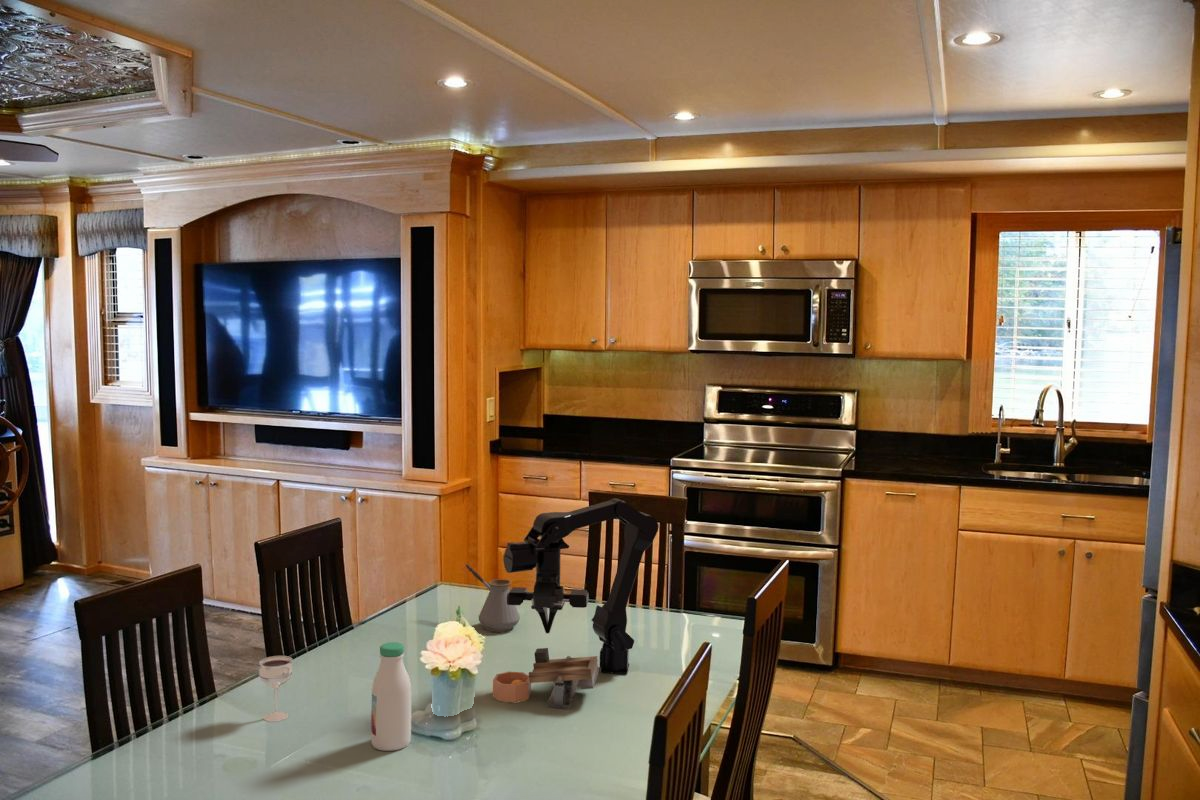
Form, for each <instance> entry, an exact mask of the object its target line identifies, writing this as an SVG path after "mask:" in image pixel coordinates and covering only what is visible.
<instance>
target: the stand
mask: <svg viewBox="0 0 1200 800" xmlns="http://www.w3.org/2000/svg"><path fill="white" fill-rule="evenodd" d="M578 687H579V680H567V681H562V682H561V683H557V681H555V683H554V685H553V689H552V692H551V694H550V696H549V699H548V701H547V703H546V708H548V709H549V708H550V709H564V710H570V708H571V706H572V703H573V701H574V697H575V695H576V692H577V690H578Z"/></svg>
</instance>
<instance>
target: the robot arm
mask: <svg viewBox="0 0 1200 800" xmlns="http://www.w3.org/2000/svg"><path fill="white" fill-rule="evenodd" d="M612 519H617V520H619V521H620V522H621V523H623V524H624V531H623V535H624V536H623V537H624V549H623V552H622V555H621V558H620V560H619V563H618V567H617V570H616V574H615V576H614V578H613V579H614V580H613V582H612V586H611V589H610V591H609V595H608V598H607V600H606V602H605V603H604V604H603V605H602V606H601V605H596V607H595V611H594V615H593V617H592V618H591V620H590V621H591V622H592V630H593V631H594V633H595V634H596V635H597V637H598V639H599V641H600V642H602V645H601V646H602V647H601V648H600V650H599V668H600V673H602V674H614V675H615V674H616V675H617V674H618V675H627V674H628V672H629V669H630V663H629V657H630V656H629V652H630V650H632V649H633V647H634V644H635V639H634V638H633V637H632V636H630V634H628V632H626V631H627V624H628V615H627V606H628V602H629V600H630V599H629V598H630V596H631V594H632V593H631V592H632V590H633V587H634V584H635V580H636V578H637V574H638V570H639V568H640V565H641V562H642V559H643V556H644V552H645V551H646V550H647V549H648V548H649V547H650V546H651V545H652V544H653V543H654V540H655V538H656V536H657V534H658V532H659V527H660V525H659V524H660V523H658V520H657V519H656V518H655V516H653V515H650V514H647V513H645V512H641V511H639V510H638V509H635V508H633V507H632V506H630V505H629V504H628V503H627V502H626V501H625V500H621V499H619V498H611V499H609V500H606V501H602V502H600V503H596V504H592V505H588V506H585V507H582V508H578V509H575V510H572V511H565V512H561V511H560V512H559V511H552V512H550V511H549V512H543V513H542V512H541V513H540V514H538V515H536V517H535V519H534V521H533V524H532V527H531V528H530V530H529V532H528V533H527V534H526V536H525V537H524V538H523V541H519V542H513V541H512V542H507V544H506V548H505V549H504V554H503V566H504V568H505V569H504V570H505V571H506V573H507V574H511V573H520V572H521V573H522V572H527V571H533V570H534V569H535V582H534V586H533V592H531V591H528V588H527V587H521V586H520V587H516V586H513V587H511V588H510V589H509V593H508V594H507V604H508V605H515V606H521V605H522V604H523V603H524V601H531V605H530V608H531V609H532V610H535V611H536V612H537V613H538V615H539V617H540V620H541V623H542V625H543V628H544V632H545V634H550V632H551V629H552V626H553V623H554V620H555V617H556V614H557V613H558V611H563V609H564V606H565V602H566V603H567V602H568V603H569V606H571V607H572V608H579V609H581V608H583V609H584V608H587V606H588V603H589V599H590V598H589V595H590V594H589V591H588V590H587V589H578V588H575V589H574V588H572V589H571V591H570V593H566V592H565V593H564V591H565V590H564V586H563V585H561V550H564V549H565V550H566V549H569V548H570V545H569V544H568V543H566V542H565V540H564V538H566V537H568V536H569V535H571V533H573V532H574V531H576V530H578V529H581V528H582V529H583V528H585V527H588V526H591V525H596V524H598V523H602V522H605V521H609V520H612ZM539 537H540V539H539ZM548 611H549V613H548Z"/></svg>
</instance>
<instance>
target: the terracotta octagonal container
mask: <svg viewBox="0 0 1200 800" xmlns="http://www.w3.org/2000/svg"><path fill="white" fill-rule="evenodd" d="M517 679H518V680H521V681H522V682H523V683H519V684H515V685H514V684H511V683H512V682H513V681H514V680H517ZM531 689H532V683H530V682H529V674H527V673H525V672H522V671H504V672H501V673H497V674H496V675H495V676H494V678H493V679H492V698H494V697H495V698H496V699H495V698H494V699H495V700H497V699H498V700H500V701H505V702H504V703H508V702H517V703H519V702H518V701H521V702H524V701H528V700H529V698H530V696H531V694H532V691H531ZM530 693H531V694H530ZM527 699H528V700H527ZM498 700H497V701H498ZM523 700H524V701H523ZM500 701H499V702H500Z"/></svg>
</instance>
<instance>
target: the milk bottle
mask: <svg viewBox="0 0 1200 800" xmlns="http://www.w3.org/2000/svg"><path fill="white" fill-rule="evenodd" d="M404 650H405V646H404V644H403V643H402V642H396V641H393V642H391V641H389V642H385V643H382V644H381V645H380V646H379V654H380V655H379V658H380V664H379V667H378V670H377V672H376V674H375V676H374V679H373V683H372V685H371V686H372V688H371V716H370V717H371V719H370V720H371V722H370V724H371V725H370V727H371V728H370V729H371V730H370V731H371V734H370V735H371V745H372V747H373V748H374V749H376V750H379V751H384V752H385V751H386V752H393V751H398V750H402V749H404V748H406V747H407V746H408V745H409V744H410V742H411V740H412V684H411V679H410V676H409V673H408V672H407V671H408V670H406V667H405V664H404V660H403V657H404Z"/></svg>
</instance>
